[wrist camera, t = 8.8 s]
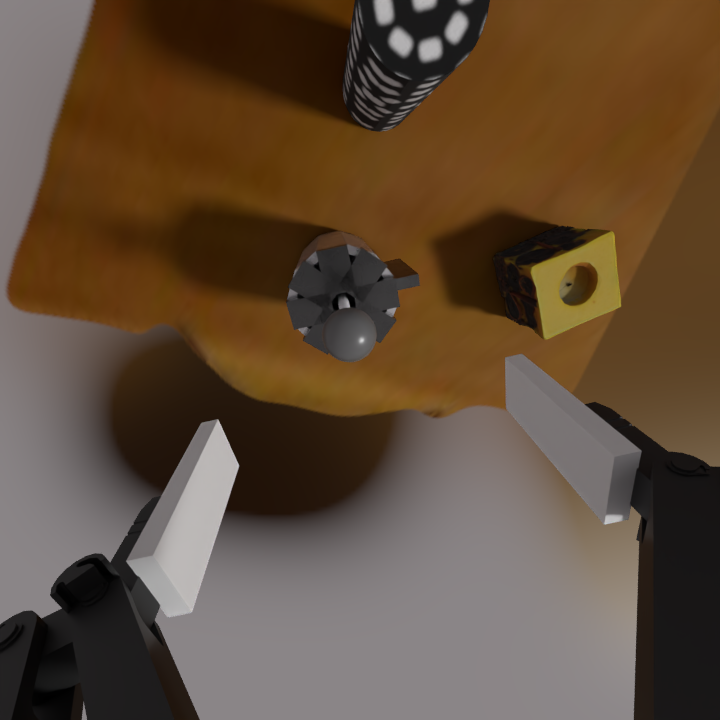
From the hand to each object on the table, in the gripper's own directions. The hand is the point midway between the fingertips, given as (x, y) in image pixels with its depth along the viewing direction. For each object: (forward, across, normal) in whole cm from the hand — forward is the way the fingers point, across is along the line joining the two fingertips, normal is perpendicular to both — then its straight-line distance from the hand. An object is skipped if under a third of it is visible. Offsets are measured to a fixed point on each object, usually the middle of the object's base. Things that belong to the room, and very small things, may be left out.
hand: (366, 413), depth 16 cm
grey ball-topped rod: (+33, 0, 0) cm, 33 cm away
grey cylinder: (+35, +1, 0) cm, 35 cm away
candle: (+36, +27, -6) cm, 45 cm away
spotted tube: (+35, +9, +19) cm, 41 cm away
